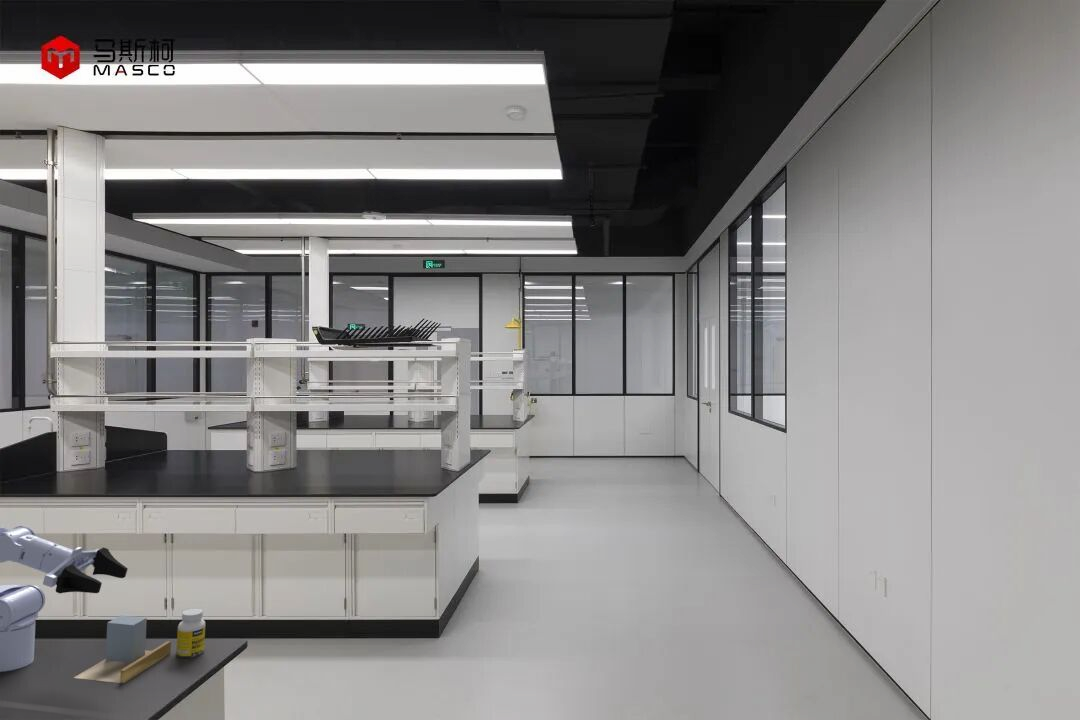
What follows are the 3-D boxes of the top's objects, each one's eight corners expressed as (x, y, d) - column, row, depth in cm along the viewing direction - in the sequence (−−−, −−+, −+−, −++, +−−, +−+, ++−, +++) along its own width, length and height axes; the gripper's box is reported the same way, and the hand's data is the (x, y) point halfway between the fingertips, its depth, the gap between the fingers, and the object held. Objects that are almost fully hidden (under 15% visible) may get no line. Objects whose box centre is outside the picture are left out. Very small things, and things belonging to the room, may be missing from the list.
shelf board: (72, 681, 134) (73, 665, 134) (124, 651, 148) (124, 636, 148) (123, 687, 133) (124, 670, 133) (170, 656, 147) (171, 641, 147)
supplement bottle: (192, 663, 144) (194, 617, 144) (170, 660, 146) (172, 614, 145) (209, 652, 150) (211, 608, 150) (188, 649, 151) (190, 605, 151)
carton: (131, 663, 142) (133, 625, 142) (105, 660, 142) (107, 622, 142) (145, 654, 146) (147, 617, 146) (120, 651, 147) (121, 615, 146)
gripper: (28, 553, 131) (92, 576, 131) (83, 529, 146) (141, 550, 145) (19, 586, 132) (82, 609, 131) (74, 559, 146) (132, 579, 146)
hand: (112, 580), depth 138 cm, fingers open, 7 cm apart
